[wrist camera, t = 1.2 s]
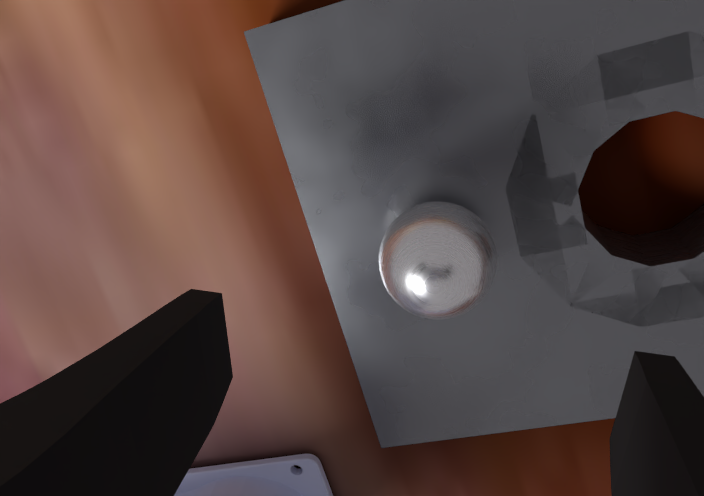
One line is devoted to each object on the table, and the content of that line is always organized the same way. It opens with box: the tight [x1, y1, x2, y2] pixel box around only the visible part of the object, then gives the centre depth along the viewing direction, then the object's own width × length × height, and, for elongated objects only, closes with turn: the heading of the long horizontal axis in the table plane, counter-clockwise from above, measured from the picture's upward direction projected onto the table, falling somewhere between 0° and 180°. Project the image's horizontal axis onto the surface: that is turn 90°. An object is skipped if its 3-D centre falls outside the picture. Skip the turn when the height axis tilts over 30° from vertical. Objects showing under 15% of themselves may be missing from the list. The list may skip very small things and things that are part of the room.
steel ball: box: [378, 201, 498, 319], centre depth 19 cm, size 3×3×3 cm
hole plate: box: [244, 0, 704, 448], centre depth 21 cm, size 15×15×2 cm
